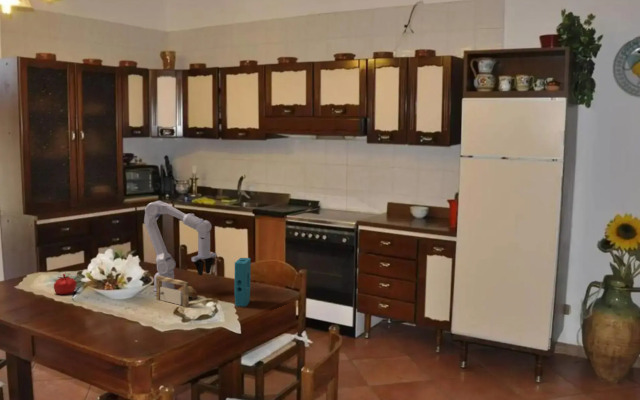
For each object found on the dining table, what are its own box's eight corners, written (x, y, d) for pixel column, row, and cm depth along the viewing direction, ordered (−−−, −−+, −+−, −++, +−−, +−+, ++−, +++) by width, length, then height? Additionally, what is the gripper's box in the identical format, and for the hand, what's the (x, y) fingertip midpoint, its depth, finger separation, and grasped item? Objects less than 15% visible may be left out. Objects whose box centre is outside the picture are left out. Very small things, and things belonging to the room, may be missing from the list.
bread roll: (178, 309, 277) (182, 295, 274) (169, 295, 284) (172, 282, 280) (198, 305, 284) (201, 292, 280) (188, 292, 290) (192, 279, 287)
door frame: (156, 299, 279) (156, 276, 278) (159, 298, 281) (159, 275, 279) (185, 307, 268) (185, 282, 267) (188, 306, 270) (188, 282, 269)
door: (158, 300, 277) (158, 287, 277) (162, 299, 279) (162, 286, 278) (181, 306, 269) (181, 292, 268) (184, 305, 271) (184, 291, 270)
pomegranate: (71, 296, 282) (70, 277, 281) (50, 295, 282) (49, 276, 281) (80, 290, 292) (79, 271, 291) (59, 289, 292) (59, 271, 291)
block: (245, 307, 269) (245, 263, 267) (234, 307, 270) (234, 263, 268) (250, 300, 281) (251, 258, 279) (240, 299, 282) (240, 257, 280)
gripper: (198, 249, 281) (199, 278, 283) (220, 245, 293) (220, 272, 295) (188, 247, 285) (188, 275, 287) (210, 243, 297) (210, 270, 299)
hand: (204, 273), depth 291 cm, fingers open, 4 cm apart
